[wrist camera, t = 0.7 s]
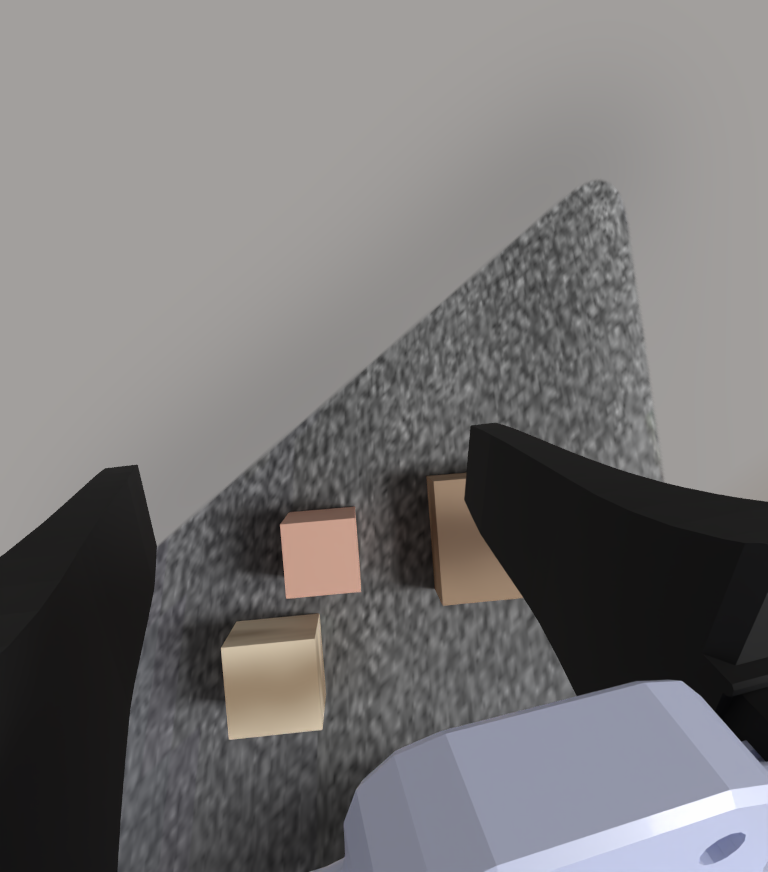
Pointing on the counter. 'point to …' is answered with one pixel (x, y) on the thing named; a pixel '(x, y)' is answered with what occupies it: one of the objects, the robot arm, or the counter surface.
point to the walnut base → (462, 548)
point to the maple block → (274, 676)
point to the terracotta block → (320, 552)
